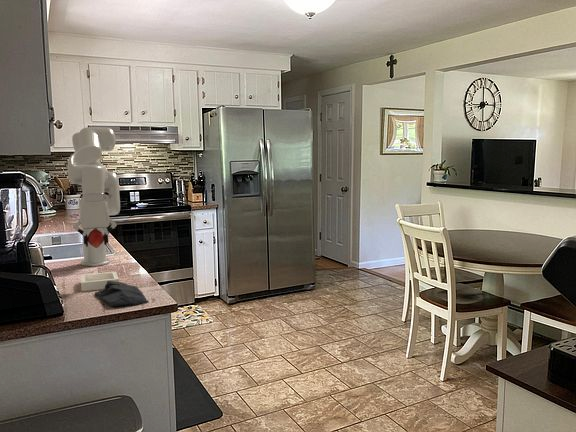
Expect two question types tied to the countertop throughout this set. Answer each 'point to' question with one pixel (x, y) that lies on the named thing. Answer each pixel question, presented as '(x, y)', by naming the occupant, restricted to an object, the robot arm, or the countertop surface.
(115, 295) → the dark grey folded cloth
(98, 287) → the dish
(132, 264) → the countertop surface
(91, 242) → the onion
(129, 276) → the countertop surface
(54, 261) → the countertop surface
